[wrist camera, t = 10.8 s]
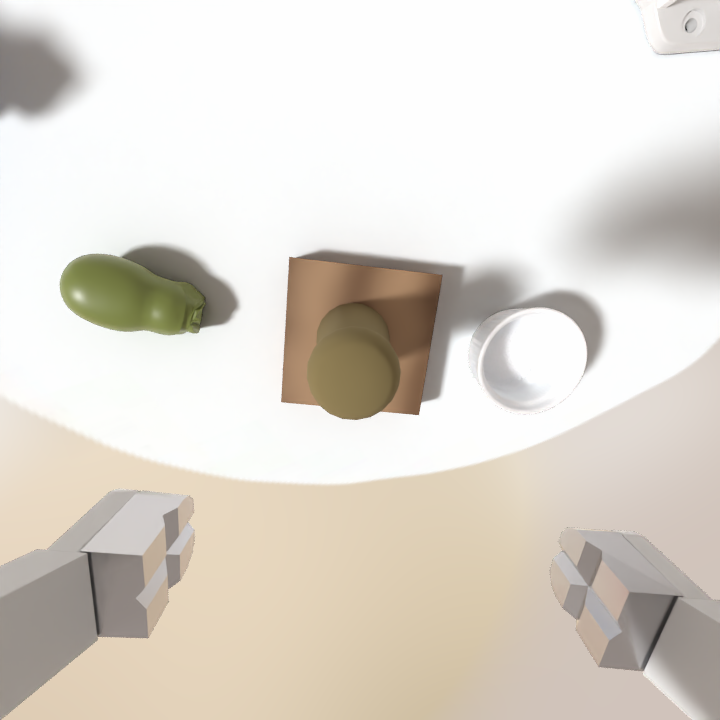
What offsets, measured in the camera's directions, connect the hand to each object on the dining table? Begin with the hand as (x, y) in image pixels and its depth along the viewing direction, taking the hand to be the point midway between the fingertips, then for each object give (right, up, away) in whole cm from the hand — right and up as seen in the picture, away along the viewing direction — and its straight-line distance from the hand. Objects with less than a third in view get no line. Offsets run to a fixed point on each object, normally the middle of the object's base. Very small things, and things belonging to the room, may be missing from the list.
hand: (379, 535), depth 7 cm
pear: (-18, +9, +22) cm, 30 cm away
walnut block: (-1, +6, +23) cm, 24 cm away
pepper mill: (-1, +6, +21) cm, 21 cm away
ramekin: (+13, +5, +24) cm, 28 cm away
